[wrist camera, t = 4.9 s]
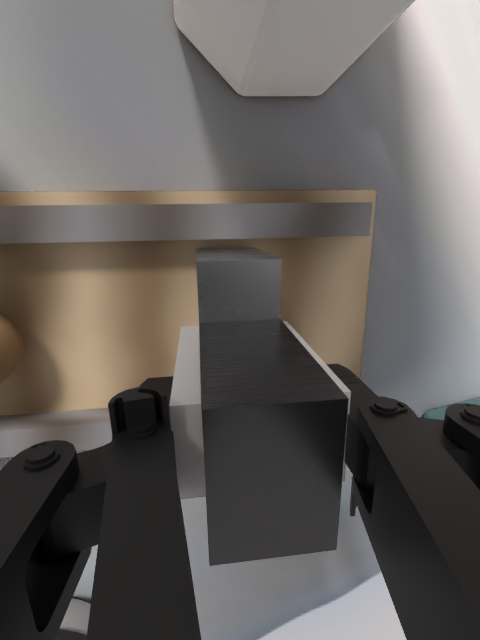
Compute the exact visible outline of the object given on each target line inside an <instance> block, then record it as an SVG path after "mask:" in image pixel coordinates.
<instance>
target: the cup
mask: <svg viewBox="0 0 480 640" xmlns="http://www.w3.org/2000/svg"><path fill="white" fill-rule="evenodd" d="M414 1H415V0H173V7H174V17H175V22H176V24H177V26H178V28H179V29H180V30H181V32H182V33H183V34H184V35H185V36H186V37H187V38H188V39H189V40H190V42H191V43H192V44H193V45H194V46H195V47H196V48H197V49H198V50H199V51H200V53H201V54H202V55H203V56H204V57H205V58H206V59H207V60H208V61H209V62H210V64H211V65H212V66H213V67H214V68H215V69H216V70H217V71H218V72H219V73H220V75H221V76H222V77H223V78H224V79H225V80H226V81H227V82H228V83H229V85H230V86H231V87H232V88H233V89H234V90H235V91H236V92H237V93H238V94H240V95H242V96H319V95H321V94H323V93H324V92H325V91H326V90H327V89H328V88H329V87H330V86H331V85H332V84H333V83H334V82H335V81H336V80H337V79H338V78H339V77H340V76H341V75H342V74H343V73H344V72H345V71H346V70H347V69H348V68H349V67H350V66H351V65H352V64H353V63H354V62H355V61H356V60H357V59H358V58H359V57H360V56H361V55H362V54H363V53H364V52H365V51H366V50H367V49H368V48H369V47H370V46H371V45H372V43H373V42H374V41H375V40H376V39H377V38H378V37H379V36H380V35H381V34H382V33H383V32H384V31H385V30H386V29H387V28H388V27H389V26H390V25H391V24H392V23H393V22H394V21H395V20H396V19H397V18H398V17H399V16H400V15H401V14H402V13H403V12H404V11H405V10H406V9H407V8H408V7H409V6H410V5H411V4H412V3H413V2H414Z"/></svg>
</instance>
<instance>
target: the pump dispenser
mask: <svg viewBox="0 0 480 640" xmlns="http://www.w3.org/2000/svg"><path fill="white" fill-rule="evenodd" d="M90 606H91V604H90V603H87V602H85V601H82V600H78V599H73V598H72V599H71V602H70V604H69V606H68V609H67V611H66V614H65V616H64V619H63V621H62V623H61V626H60V628H59V631H58V633H57V635H56V638H55V640H86V637H87V629H88V622H89V614H90Z"/></svg>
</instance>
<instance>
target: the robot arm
mask: <svg viewBox="0 0 480 640" xmlns="http://www.w3.org/2000/svg"><path fill="white" fill-rule="evenodd" d="M283 323H284V324H285V325H286V326H287V327H288V328H289V330H290V331H291V332H292V333H293V334H294V335H295V337H296V338H297V339H298V340H299V341H300V342H301V344H302V345H303V346H304V347H305V348H306V349H307V351H308V352H309V353H310V354H311V355H312V356H313V358H314V359H315V360H316V361H317V362H318V363H319V365H320V366H321V367H322V368H323V369H324V370H325V371H326V373H327V374H328V375H329V376H330V377H331V378H332V380H333V381H334V382H335V383H336V384H337V385H338V387H339V388H340V389H341V390H342V391H343V392H344V394H345V395H346V396H347V397H348V398H349V401H348V413H347V425H346V438H345V450H344V462H343V474H342V481H344V478H345V464H347V466H348V467H349V469H350V470H351V472H352V474H353V476H352V488H351V500H350V516H355V508H356V506H358V509H359V512H360V515H361V517H362V520H363V523H364V525H365V528H366V531H367V533H368V536H369V539H370V542H371V544H372V547H373V550H374V552H375V555H376V558H377V561H378V563H379V566H380V569H381V571H382V574H383V577H384V579H385V582H386V585H387V587H388V590H389V593H390V596H391V598H392V601H393V604H394V606H395V609H396V612H397V614H398V617H399V620H400V623H401V625H402V628H403V631H404V633H405V636H406V639H407V640H480V405H476V404H471V403H464V404H453V405H450V406H448V407H447V409H446V411H445V417H444V420H438V419H428V418H419V417H417V415H416V414H415V413H414V412H413V411H412V409H411V408H409V407H408V406H407V405H406V404H404V403H402V402H400V401H397V400H394V399H390V398H387V397H378V396H377V395H376V394H375V393H374V392H372V391H371V390H370V389H369V388H368V387H367V386H366V385H365V384H364V383H362V381H361V380H360V379H359V378H358V377H356V375H355V374H354V373H353V372H352V371H351V370H350V369H348V368H346V367H344V366H342V365H340V364H325V363H324V361H323V360H322V359H321V358H320V357H319V356H318V355H317V354H316V353H315V352H314V350H313V349H312V348H311V347H310V346H309V345H308V344H307V343H306V342H305V341H304V339H303V338H302V337H301V336H300V335H299V334H298V333H297V332H296V331H295V330H294V328H293V327H292V326H291V325H290V324H289V323H288V322H287V321H283ZM108 409H109V416H110V423H111V430H112V441H111V442H110V443H108V444H106V445H104V446H101V447H98V448H95V449H92V450H89V451H85V452H82V453H78V454H76V449H75V447H74V445H73V444H72V443H70V442H68V441H63V440H53V441H44V442H41V443H39V444H38V443H37V444H35V445H32V446H31V447H29V448H27V449H25V450H23V451H21V452H19V453H18V454H17V455H16V456H15V457H13V458H12V459H11V460H10V461H9V462H8V463H7V464H6V465H5V467H4V468H3V469H2V470H1V471H0V640H55V638H56V635H57V633H58V631H59V628H60V626H61V623H62V621H63V619H64V616H65V614H66V611H67V609H68V606H69V604H70V602H71V599H72V597H73V594H74V592H75V589H76V587H77V585H78V582H79V580H80V577H81V575H82V573H83V570H84V568H85V565H86V563H87V560H88V558H89V556H90V553H91V548H92V546H95V545H97V544H98V551H97V559H96V567H95V575H94V583H93V590H92V598H91V606H90V614H89V622H88V629H87V637H86V640H201V636H200V629H199V622H198V615H197V609H196V602H195V595H194V588H193V582H192V575H191V568H190V561H189V555H188V548H187V541H186V534H185V528H184V521H183V514H182V507H181V501H180V499H184V498H194V497H203V496H206V485H205V465H204V446H203V426H202V404H201V369H200V333H199V326H182V327H181V330H180V337H179V344H178V350H177V357H176V364H175V371H174V376H168V377H154V378H148V379H146V380H145V381H144V382H143V383H142V384H141V385H140V386H139V387H136V388H132V389H127V390H125V391H123V392H120V393H118V394H116V395H115V396H114V397H112V398H111V399H110V401H109V403H108Z"/></svg>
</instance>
